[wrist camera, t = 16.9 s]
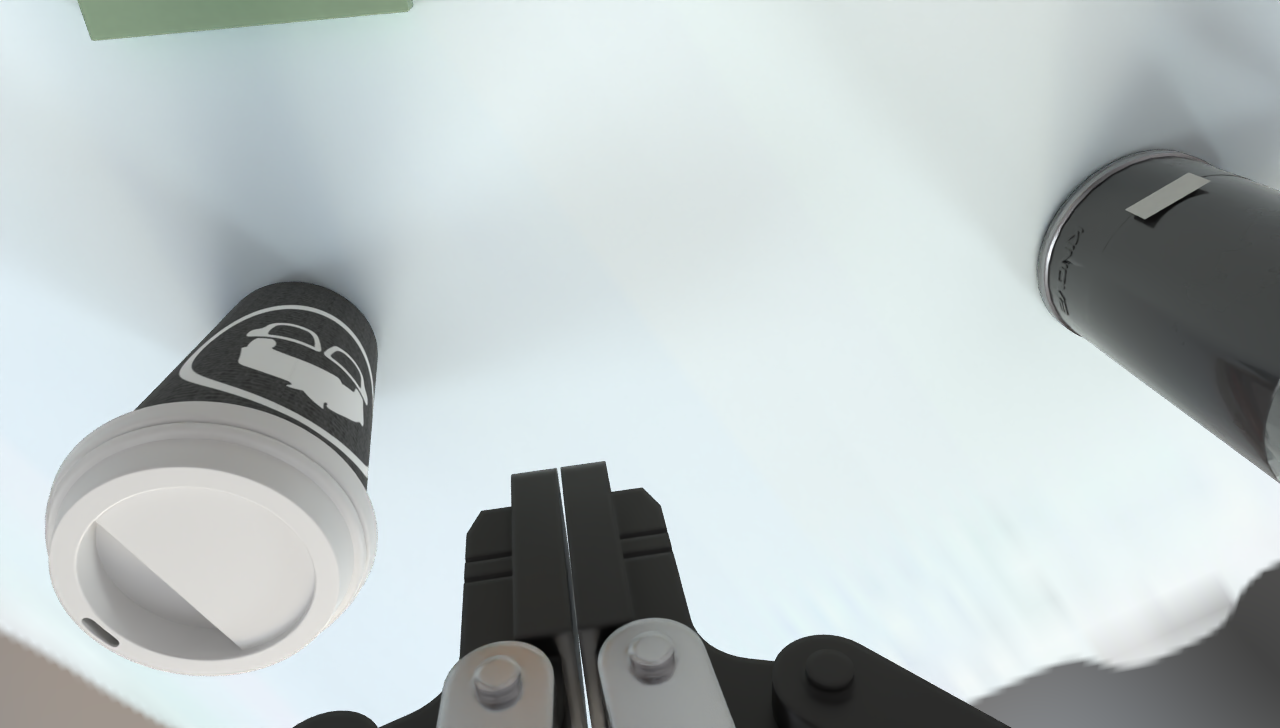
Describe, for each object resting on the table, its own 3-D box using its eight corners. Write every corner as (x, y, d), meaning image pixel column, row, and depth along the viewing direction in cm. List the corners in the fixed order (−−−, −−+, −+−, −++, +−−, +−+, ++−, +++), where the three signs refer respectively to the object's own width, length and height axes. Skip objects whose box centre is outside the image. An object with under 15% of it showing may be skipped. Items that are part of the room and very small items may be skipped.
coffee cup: (151, 265, 36) (-51, 472, 23) (384, 232, 37) (319, 414, 24) (226, 456, 41) (94, 720, 27) (432, 423, 41) (401, 665, 28)
